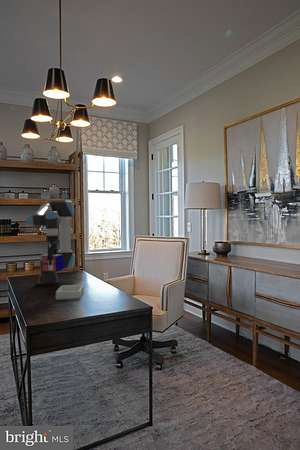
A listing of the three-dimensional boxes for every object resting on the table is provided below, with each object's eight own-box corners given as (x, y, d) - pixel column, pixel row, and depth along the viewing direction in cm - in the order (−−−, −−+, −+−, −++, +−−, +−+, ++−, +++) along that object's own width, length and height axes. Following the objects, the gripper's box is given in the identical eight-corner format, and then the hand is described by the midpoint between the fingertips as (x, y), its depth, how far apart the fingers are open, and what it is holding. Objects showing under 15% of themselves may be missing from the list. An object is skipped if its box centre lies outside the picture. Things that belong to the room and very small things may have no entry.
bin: (61, 292, 227) (61, 285, 227) (83, 291, 229) (83, 284, 228) (55, 299, 208) (55, 291, 208) (80, 298, 210) (79, 291, 209)
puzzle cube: (56, 271, 211) (56, 256, 211) (42, 271, 213) (41, 256, 213) (63, 269, 221) (63, 254, 220) (50, 269, 223) (49, 254, 223)
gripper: (51, 234, 228) (51, 265, 228) (41, 236, 204) (42, 271, 205) (62, 233, 228) (63, 265, 229) (53, 236, 205) (54, 271, 205)
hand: (53, 268), depth 217 cm, fingers closed on puzzle cube, 11 cm apart
